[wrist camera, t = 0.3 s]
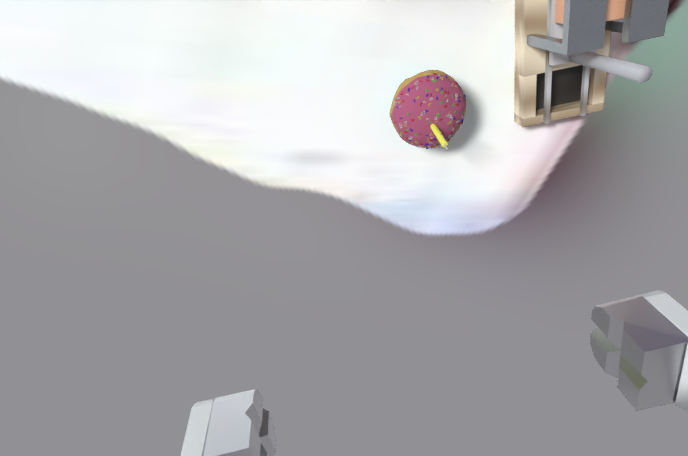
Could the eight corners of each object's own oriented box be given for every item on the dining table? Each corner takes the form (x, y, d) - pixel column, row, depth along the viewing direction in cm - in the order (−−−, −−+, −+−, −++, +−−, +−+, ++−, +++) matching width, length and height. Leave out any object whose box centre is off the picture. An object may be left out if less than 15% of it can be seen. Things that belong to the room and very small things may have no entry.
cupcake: (451, 131, 58) (487, 165, 47) (384, 139, 57) (406, 175, 47) (453, 60, 54) (493, 80, 43) (381, 68, 53) (404, 90, 43)
